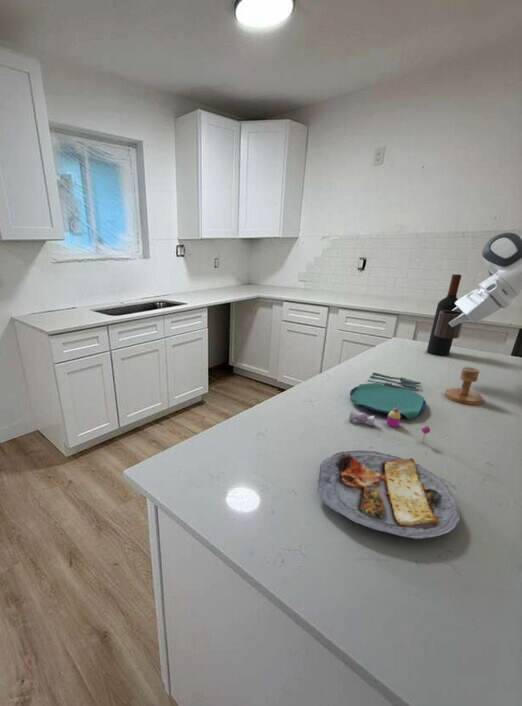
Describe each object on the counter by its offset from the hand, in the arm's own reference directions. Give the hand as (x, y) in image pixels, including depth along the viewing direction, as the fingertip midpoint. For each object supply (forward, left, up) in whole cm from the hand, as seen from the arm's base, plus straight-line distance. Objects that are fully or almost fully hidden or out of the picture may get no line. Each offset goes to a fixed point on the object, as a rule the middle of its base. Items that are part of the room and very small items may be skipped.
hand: (447, 322), depth 115 cm
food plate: (+20, +70, -19) cm, 75 cm away
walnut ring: (-1, 0, -4) cm, 5 cm away
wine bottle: (-6, -28, -19) cm, 35 cm away
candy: (+17, +42, -19) cm, 49 cm away
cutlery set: (+15, +22, -19) cm, 33 cm away
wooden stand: (-5, +16, -19) cm, 25 cm away
